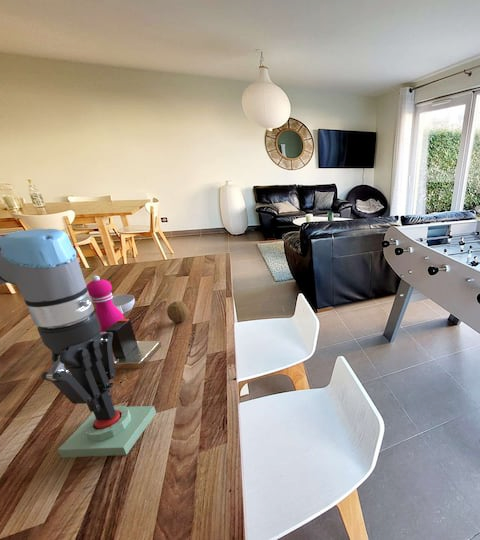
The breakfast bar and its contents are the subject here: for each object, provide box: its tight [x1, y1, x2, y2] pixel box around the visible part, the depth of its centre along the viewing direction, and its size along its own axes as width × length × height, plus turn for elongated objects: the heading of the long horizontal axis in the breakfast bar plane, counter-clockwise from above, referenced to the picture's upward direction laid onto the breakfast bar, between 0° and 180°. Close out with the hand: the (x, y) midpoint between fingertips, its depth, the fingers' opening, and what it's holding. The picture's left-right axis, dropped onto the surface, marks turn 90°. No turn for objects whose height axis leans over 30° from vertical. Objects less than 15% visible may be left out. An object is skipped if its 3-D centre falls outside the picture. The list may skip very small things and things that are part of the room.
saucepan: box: [112, 294, 136, 315], centre depth 104 cm, size 11×18×4 cm, turn 45°
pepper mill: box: [86, 275, 125, 332], centre depth 90 cm, size 7×7×20 cm
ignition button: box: [94, 410, 121, 430], centre depth 59 cm, size 4×4×2 cm
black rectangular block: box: [105, 318, 138, 358], centre depth 80 cm, size 6×3×9 cm, turn 4°
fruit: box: [166, 300, 189, 323], centre depth 99 cm, size 6×6×8 cm
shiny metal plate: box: [113, 340, 162, 370], centre depth 82 cm, size 13×10×2 cm
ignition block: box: [57, 405, 157, 458], centre depth 60 cm, size 12×10×4 cm
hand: (106, 416), depth 59 cm, fingers closed
